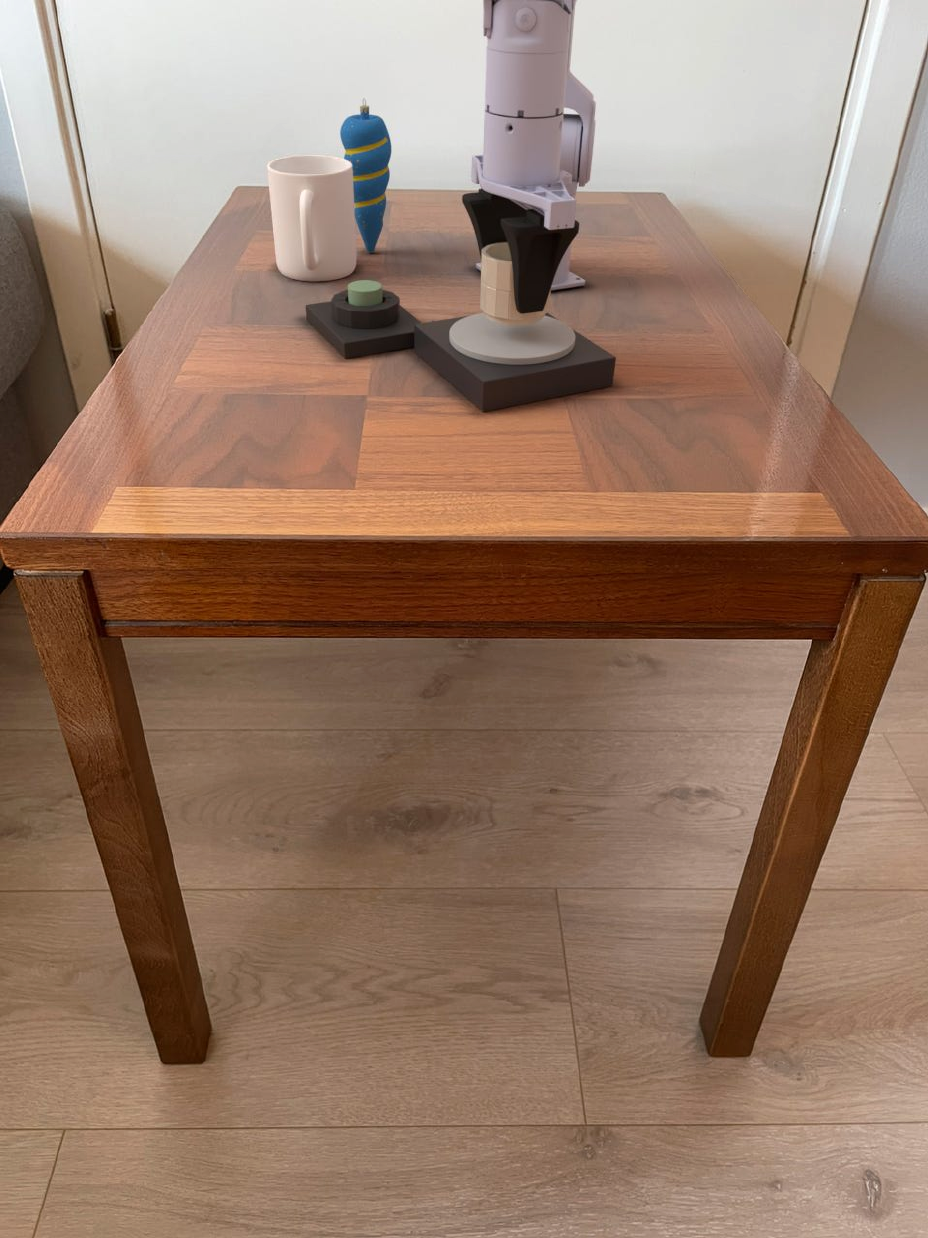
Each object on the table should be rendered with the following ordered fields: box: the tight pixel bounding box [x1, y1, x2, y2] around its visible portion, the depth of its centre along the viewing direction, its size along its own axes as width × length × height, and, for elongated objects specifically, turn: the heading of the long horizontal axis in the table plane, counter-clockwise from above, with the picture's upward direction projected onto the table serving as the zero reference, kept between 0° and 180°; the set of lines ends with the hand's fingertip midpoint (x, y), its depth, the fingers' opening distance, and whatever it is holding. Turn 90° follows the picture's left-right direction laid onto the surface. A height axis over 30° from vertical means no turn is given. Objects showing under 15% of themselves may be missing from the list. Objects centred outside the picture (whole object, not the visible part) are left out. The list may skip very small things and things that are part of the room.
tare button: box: [347, 279, 383, 306], centre depth 86 cm, size 3×3×2 cm
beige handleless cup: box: [479, 242, 552, 325], centre depth 78 cm, size 6×6×5 cm
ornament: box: [339, 98, 392, 254], centre depth 102 cm, size 5×5×15 cm
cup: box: [266, 154, 357, 282], centre depth 97 cm, size 8×12×10 cm
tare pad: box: [305, 289, 422, 359], centre depth 87 cm, size 10×8×3 cm
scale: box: [413, 312, 617, 413], centre depth 81 cm, size 13×12×3 cm
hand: (514, 298), depth 79 cm, fingers closed on beige handleless cup, 5 cm apart
